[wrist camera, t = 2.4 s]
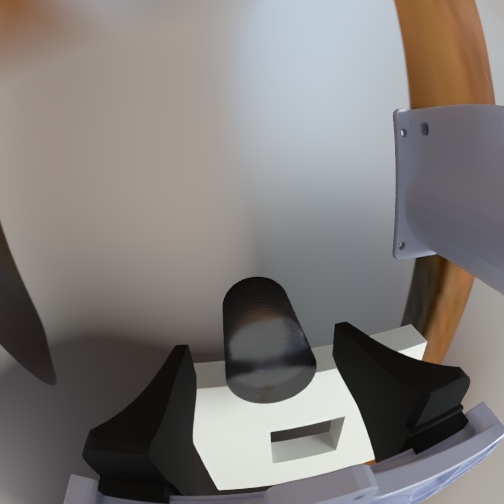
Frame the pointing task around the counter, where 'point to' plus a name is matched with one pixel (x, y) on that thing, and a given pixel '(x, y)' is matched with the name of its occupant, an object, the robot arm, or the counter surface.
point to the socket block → (285, 423)
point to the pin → (264, 343)
